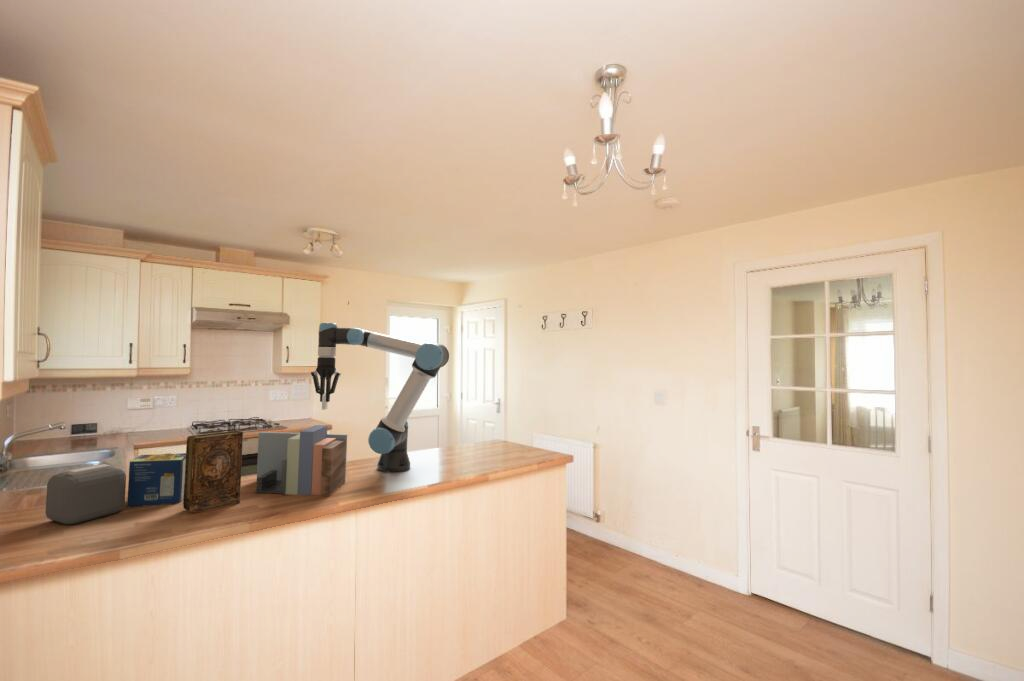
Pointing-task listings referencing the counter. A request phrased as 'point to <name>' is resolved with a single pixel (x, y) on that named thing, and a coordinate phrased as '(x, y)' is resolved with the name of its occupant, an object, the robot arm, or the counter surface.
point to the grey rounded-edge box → (85, 494)
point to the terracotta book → (318, 464)
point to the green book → (292, 465)
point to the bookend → (272, 481)
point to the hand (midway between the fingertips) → (324, 409)
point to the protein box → (156, 479)
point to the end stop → (332, 467)
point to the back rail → (280, 451)
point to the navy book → (308, 456)
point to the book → (212, 471)
